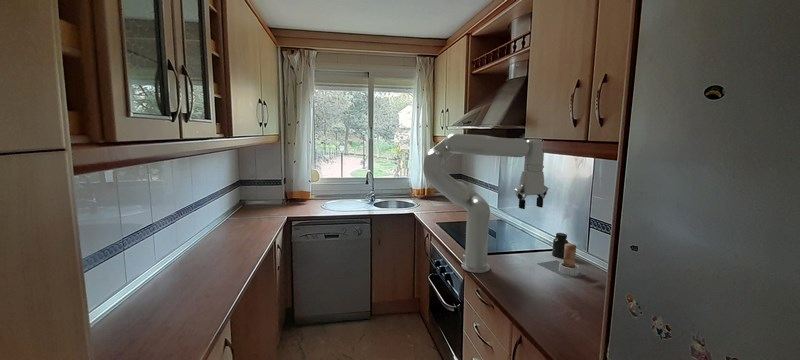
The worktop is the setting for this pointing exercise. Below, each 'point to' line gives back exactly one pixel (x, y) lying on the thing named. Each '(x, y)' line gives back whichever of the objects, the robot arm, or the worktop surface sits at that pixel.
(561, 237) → the supplement bottle
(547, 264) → the bracket board
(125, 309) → the worktop surface
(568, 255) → the rail post
